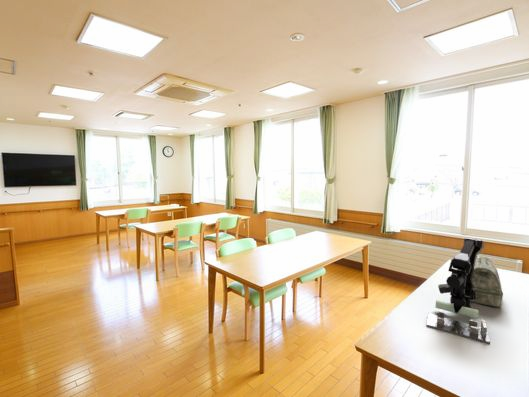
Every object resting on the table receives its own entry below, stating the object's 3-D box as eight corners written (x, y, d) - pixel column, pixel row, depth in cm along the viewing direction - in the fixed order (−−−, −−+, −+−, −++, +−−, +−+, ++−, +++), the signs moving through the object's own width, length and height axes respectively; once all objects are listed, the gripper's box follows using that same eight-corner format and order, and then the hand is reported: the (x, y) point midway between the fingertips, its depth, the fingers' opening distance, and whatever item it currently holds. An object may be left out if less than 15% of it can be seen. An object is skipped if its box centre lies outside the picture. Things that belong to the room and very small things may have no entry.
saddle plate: (428, 314, 143) (428, 304, 142) (486, 330, 129) (487, 318, 129) (426, 326, 133) (427, 314, 132) (489, 344, 120) (491, 331, 119)
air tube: (435, 305, 148) (436, 298, 148) (477, 316, 138) (478, 308, 138) (435, 309, 145) (435, 302, 144) (477, 319, 135) (478, 312, 134)
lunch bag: (462, 284, 179) (465, 252, 176) (498, 292, 168) (502, 258, 165) (460, 300, 158) (464, 264, 155) (502, 310, 147) (506, 272, 144)
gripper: (440, 272, 152) (438, 299, 154) (439, 285, 136) (437, 314, 138) (465, 277, 145) (462, 304, 147) (467, 290, 130) (464, 321, 132)
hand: (455, 310), depth 141 cm, fingers closed on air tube, 4 cm apart
